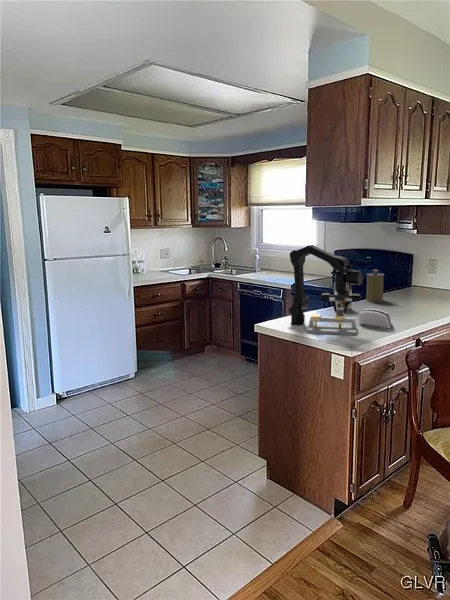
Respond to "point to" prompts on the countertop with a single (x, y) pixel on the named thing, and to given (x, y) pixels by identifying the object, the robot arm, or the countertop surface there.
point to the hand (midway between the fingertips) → (340, 314)
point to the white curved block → (375, 318)
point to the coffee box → (342, 303)
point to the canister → (375, 286)
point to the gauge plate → (331, 326)
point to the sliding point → (340, 315)
